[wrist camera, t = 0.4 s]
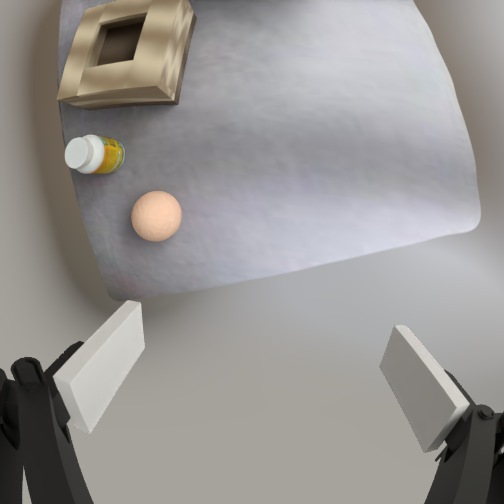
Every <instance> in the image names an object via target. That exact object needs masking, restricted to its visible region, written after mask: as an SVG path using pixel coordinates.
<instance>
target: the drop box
mask: <svg viewBox="0 0 504 504" xmlns="http://www.w3.org/2000/svg"><path fill="white" fill-rule="evenodd" d="M195 22H196V16H195V14H194V12H193V10H192V7H191V5H190V3H189V1H188V0H117V1H113V2H109V3H106V4H102V5H99V6H96V7H93V8H90V9H87V10H85V12H84V15H83V17H82V20H81V22H80V24H79V27H78V30H77V32H76V35H75V38H74V40H73V43H72V46H71V49H70V52H69V55H68V59H67V62H66V65H65V69H64V72H63V76H62V80H61V84H60V88H59V92H58V96H57V100H58V101H62V102H65V103H68V104H71V105H74V106H77V107H80V108H83V109H86V110H96V109H105V108H114V107H126V106H141V105H169V104H178V102H179V96H180V90H181V85H182V80H183V74H184V69H185V64H186V60H187V55H188V51H189V46H190V42H191V38H192V34H193V29H194V26H195Z"/></svg>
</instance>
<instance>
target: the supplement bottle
mask: <svg viewBox="0 0 504 504" xmlns="http://www.w3.org/2000/svg"><path fill="white" fill-rule="evenodd" d="M124 158H125V151H124V147H123V145H122V144H121V143H120V142H119V141H117V140H114V139H110V138H106V137H101V136H97V135H86V136H84V137H82V138H81V137H77V138H74V139H72V140H71V141H70V142H69V144H68V145H67V147H66V150H65V160H66V163H67V165H68V166H69V167H70V168H73V169H77V170H78V171H79V172H81V173H84V174H108V173H113V172H115V171H117V170H118V169H119V168H120V167H121V166H122V164H123V162H124Z"/></svg>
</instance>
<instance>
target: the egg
mask: <svg viewBox="0 0 504 504" xmlns="http://www.w3.org/2000/svg"><path fill="white" fill-rule="evenodd" d="M181 217H182V214H181V208H180V205H179V203H178V202H177V200H176V199H175V198H174V197H173V196H172V195H171V194H168V193H166V192H164V191H152V192H149V193H146V194H144V195H143V196H141V197H140V198H139V199H138V200H137V201H136V203H135V204H134V207H133V209H132V214H131V221H132V225H133V228H134V229H135V231H136V232H137V234H139V235H140V236H141V237H142V238H144V239H146V240H149V241H163V240H165V239H167V238H169V237H171V236H172V235H173V234H174V233H175V232H176V231H177V229H178V228H179V226H180V222H181Z"/></svg>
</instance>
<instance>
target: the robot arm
mask: <svg viewBox="0 0 504 504" xmlns="http://www.w3.org/2000/svg"><path fill="white" fill-rule="evenodd" d="M144 348H145V344H144V335H143V324H142V312H141V303H140V302H135V301H129V300H127V301H126V302H125V303H124V304H123V305H122V306H121V307H120V308H119V309H118V310H117V311H116V312H115V313H114V314H113V315H112V316H111V317H110V318H109V319H108V320H107V321H106V322H105V323H104V324H103V325H102V326H101V327H100V328H99V329H98V330H97V331H96V332H95V333H94V334H93V335H92V336H91V337H90V338H89V339H88V340H87V341H86V342H85V343H84V342H81V341H79V342H77V343H75V344H73V345H71V346H70V347H69V348H68V349H67V350H66V351H64V354H61V355H60V356H59V359H57V360H56V361H54V362H53V364H52V365H51V366H50V367H49V368H48V369H47V370H46V371H45V372H44V373H43V370H42V367H41V365H40V362H39V361H38V360H37V359H35V358H32V357H24V358H20V359H19V360H17V361H15V362H14V363H13V364H12V366H11V372H12V374H13V377H14V379H15V381H14V380H9V379H7V376H6V374H5V372H4V371H3V370H2V369H0V504H22V481H23V466H24V470H25V476H26V480H27V485H28V490H29V494H30V498H31V502H32V504H94V503H93V501H92V498H91V496H90V494H89V491H88V489H87V486H86V483H85V481H84V478H83V475H82V472H81V470H80V467H79V464H78V460H77V457H76V454H75V451H74V448H73V444H72V440H71V436H70V433H69V429H68V426H67V422H68V421H69V419H70V418H71V420H72V422H73V424H74V426H75V427H76V428H78V429H80V430H82V431H85V432H87V433H91V432H92V430H93V429H94V427H95V425H96V424H97V422H98V420H99V419H100V417H101V416H102V414H103V412H104V411H105V409H106V407H107V406H108V404H109V403H110V401H111V399H112V398H113V396H114V394H115V393H116V391H117V389H118V388H119V387H120V385H121V383H122V382H123V380H124V379H125V377H126V376H127V374H128V373H129V371H130V369H131V368H132V366H133V365H134V363H135V362H136V360H137V359H138V357H139V356H140V354H141V352H142V351H143V349H144ZM380 369H381V371H382V372H383V374H384V376H385V378H386V380H387V381H388V383H389V385H390V387H391V389H392V391H393V392H394V394H395V396H396V398H397V400H398V402H399V404H400V406H401V408H402V410H403V412H404V414H405V415H406V417H407V419H408V421H409V423H410V425H411V427H412V429H413V431H414V433H415V435H416V437H417V439H418V441H419V444H420V445H421V448H422V450H423V452H424V453H426V452H429V451H432V450H436V449H438V447H439V446H440V445H441V444H442V443H443V441H444V440H445V441H446V443H447V446H446V447H445V448H444V449H443V451H442V452H441V453H440V454H439V455H438V457H437V458H436V459H435V461H437V460H438V459H439V458H440V457H441V460H440V462H439V466H438V469H437V472H436V475H435V478H434V481H433V483H432V486H431V488H430V491H429V493H428V496H427V499H426V501H425V503H424V504H504V452H503V453H501V449H502V448H503V447H504V412H503V413H494V411H493V410H492V409H491V408H490V407H488V406H486V405H476V404H475V403H474V402H473V400H472V399H471V398H470V396H469V395H468V394H467V393H466V391H465V390H464V389H463V388H462V386H461V385H460V384H459V383H458V382H457V380H456V379H455V378H454V376H453V375H452V374H450V373H449V372H447V371H446V370H443V369H442V368H441V366H440V365H439V364H438V363H437V361H436V360H435V359H434V358H433V357H432V355H431V354H430V353H429V352H428V351H427V349H426V348H425V347H424V346H423V345H422V344H421V342H420V341H419V340H418V339H417V338H416V337H415V335H414V334H413V333H412V332H411V331H410V330H409V329H408V327H407V326H406V325H394V328H393V330H392V334H391V336H390V339H389V342H388V345H387V348H386V351H385V353H384V356H383V359H382V361H381V364H380Z"/></svg>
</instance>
